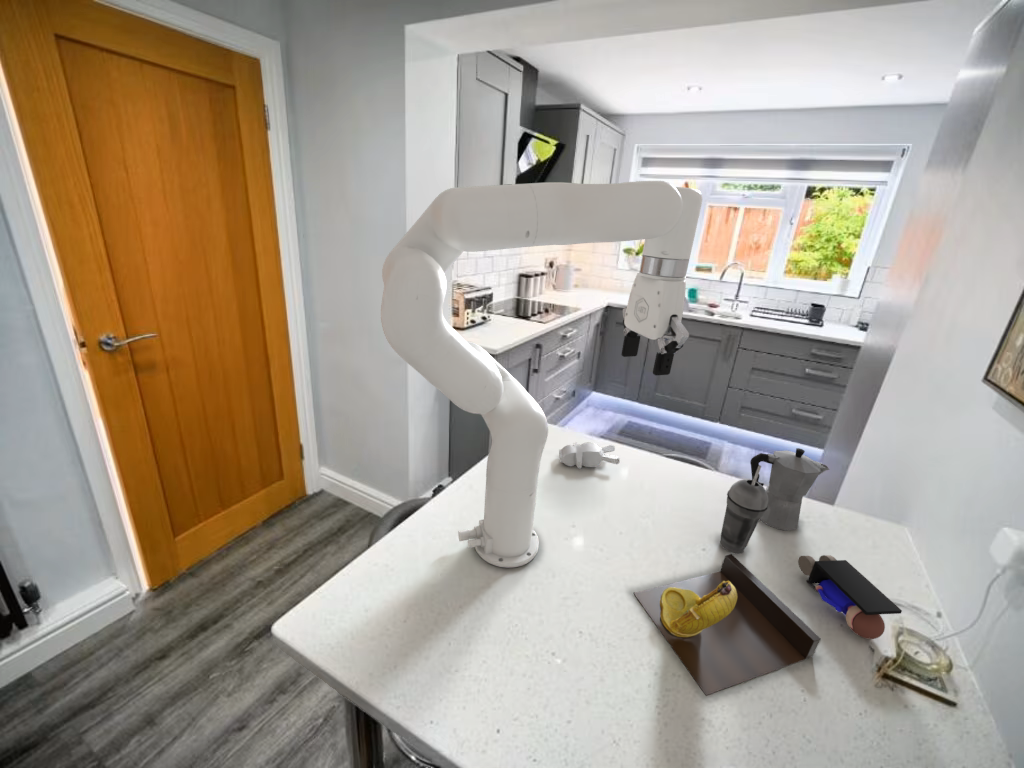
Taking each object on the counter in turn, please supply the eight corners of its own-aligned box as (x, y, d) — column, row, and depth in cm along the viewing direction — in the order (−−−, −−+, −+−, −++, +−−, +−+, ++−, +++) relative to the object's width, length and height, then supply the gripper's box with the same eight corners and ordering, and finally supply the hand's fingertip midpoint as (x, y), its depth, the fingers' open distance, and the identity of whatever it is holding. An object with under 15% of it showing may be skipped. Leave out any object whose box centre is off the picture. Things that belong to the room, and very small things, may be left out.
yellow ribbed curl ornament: (732, 661, 66) (760, 588, 60) (684, 671, 64) (709, 595, 58) (687, 599, 76) (708, 531, 70) (645, 605, 74) (663, 536, 69)
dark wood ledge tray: (705, 695, 61) (712, 676, 60) (633, 593, 77) (637, 576, 75) (812, 656, 68) (821, 638, 66) (726, 569, 83) (731, 553, 82)
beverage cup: (750, 541, 91) (779, 459, 84) (752, 564, 85) (783, 478, 78) (713, 529, 94) (738, 448, 87) (712, 550, 88) (738, 466, 80)
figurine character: (788, 580, 84) (854, 647, 70) (797, 546, 82) (868, 608, 67) (820, 579, 85) (892, 645, 70) (830, 546, 83) (906, 606, 68)
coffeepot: (798, 509, 103) (824, 443, 96) (816, 537, 94) (846, 466, 87) (729, 498, 105) (750, 432, 98) (740, 523, 96) (764, 453, 90)
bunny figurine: (557, 439, 118) (613, 436, 118) (558, 455, 120) (612, 453, 120) (561, 457, 109) (621, 455, 109) (561, 474, 111) (620, 472, 111)
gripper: (616, 260, 79) (601, 350, 85) (679, 276, 64) (656, 384, 70) (650, 262, 81) (634, 349, 88) (719, 277, 66) (693, 381, 73)
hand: (644, 364), depth 79 cm, fingers open, 9 cm apart
